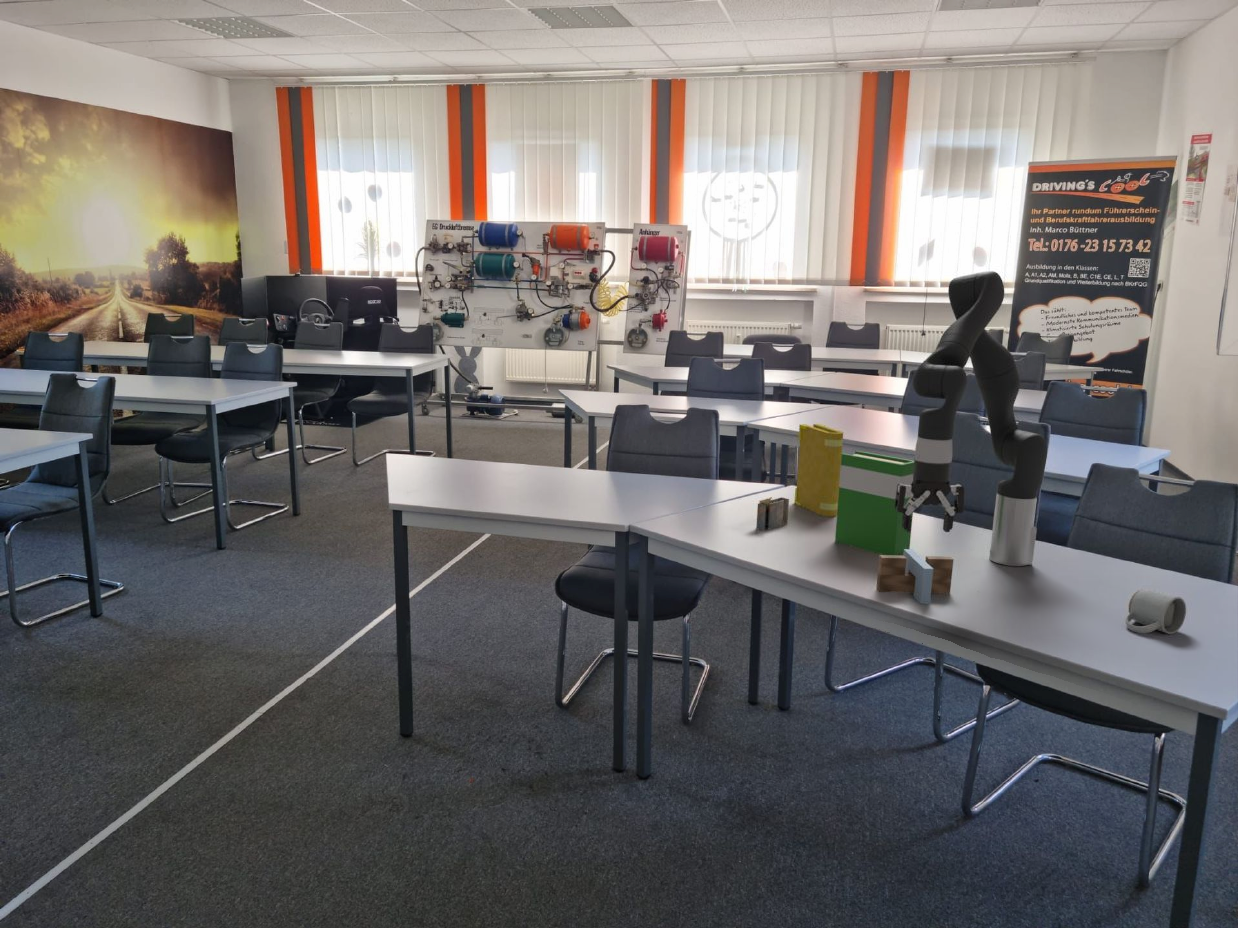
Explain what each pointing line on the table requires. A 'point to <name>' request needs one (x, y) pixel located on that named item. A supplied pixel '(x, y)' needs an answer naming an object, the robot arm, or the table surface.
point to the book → (819, 469)
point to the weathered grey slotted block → (772, 513)
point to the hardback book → (872, 502)
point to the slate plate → (919, 575)
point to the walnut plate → (899, 581)
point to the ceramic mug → (1156, 612)
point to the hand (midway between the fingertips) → (926, 531)
